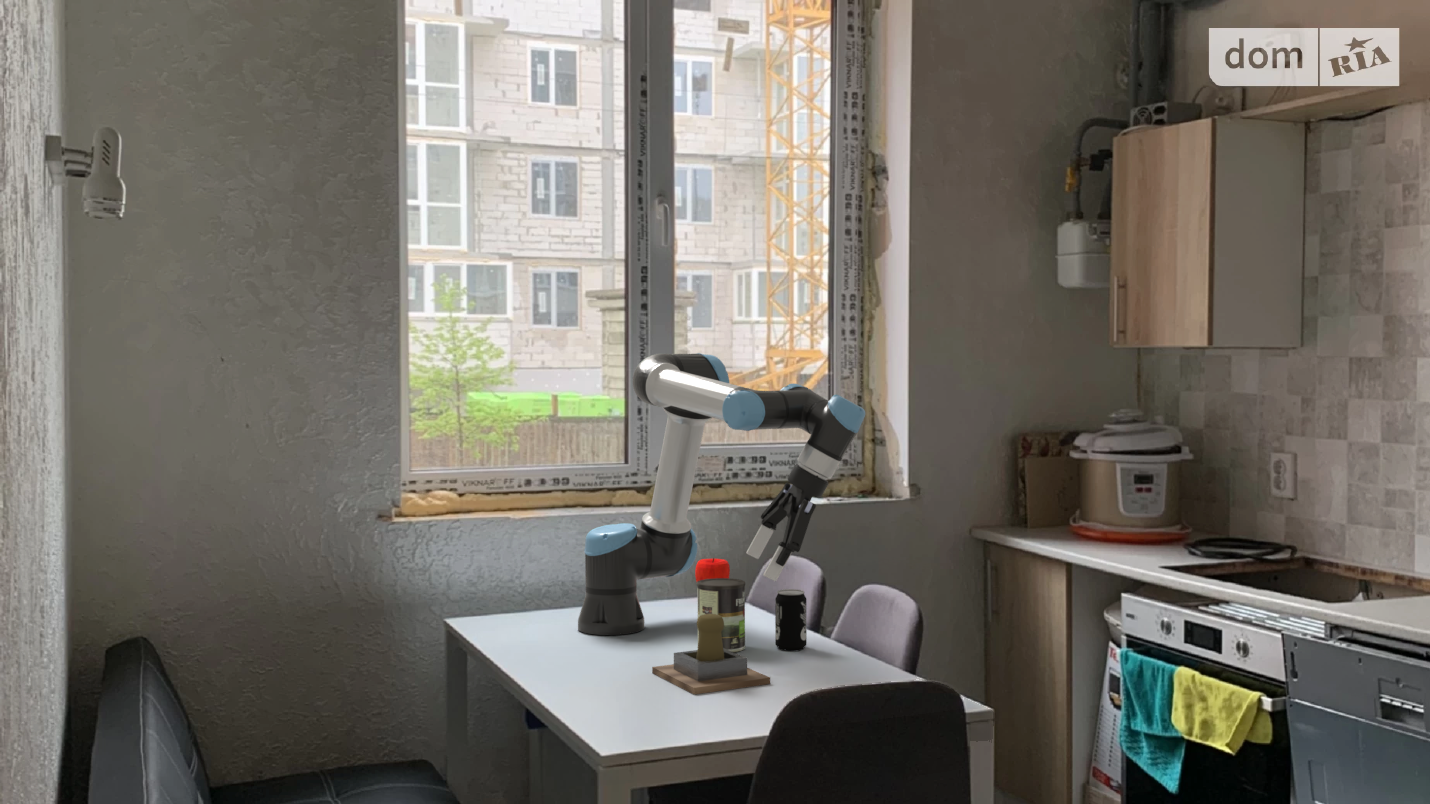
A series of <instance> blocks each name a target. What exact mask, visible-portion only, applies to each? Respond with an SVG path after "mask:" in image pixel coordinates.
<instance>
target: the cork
mask: <svg viewBox="0 0 1430 804" xmlns="http://www.w3.org/2000/svg"><path fill="white" fill-rule="evenodd" d="M696 628H697V631H698V630H699V632H700V634H699V642H698V641H697V647H698V648H697V649H696V650H697V657H696V660H699V661H701V662H704V661H712V660H720V659H725V658H724V651H723V643H722V635H721V631H722V630H723V628H724V620H723V618H722V617H721V616H720V615H716V614H704V615H701V616H699V618H698V617H697V621H696Z"/></svg>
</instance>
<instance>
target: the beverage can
mask: <svg viewBox="0 0 1430 804" xmlns="http://www.w3.org/2000/svg"><path fill="white" fill-rule="evenodd" d="M774 599H775V600H774V602H775V604H774V605H775V606H774V608H775V610H774V611H775V612H774V615H775V616H774V617H775V618H774V621H775V622H774V624H775V625H774V626H775V630H774V631H775V634H774V635H775V637H774V638H775V639H774V640H775V642H774V643H775V646H776V647H777V649H779V650H780V651H781V650H782V651H788V652H789V651H790V652H796V651H801V650H804V649H805V647H806V646H807V645H808V644H807V640H808V639H807V632H808V631H807V627H808V626H807V624H808V623H807V597H806V594H805V591H804V590H801V589H795V588H790V589H789V588H787V589H785V588H784V589H780V590H777V595H776V597H775V598H774Z"/></svg>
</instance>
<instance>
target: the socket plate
mask: <svg viewBox="0 0 1430 804" xmlns="http://www.w3.org/2000/svg"><path fill="white" fill-rule="evenodd" d="M697 650H698V649H695V650H686V651H679V652H673V664H664V665H658V666H656V665H655V666H652V668H651V672H652V674H653V675H654V676H655V675H656V676H657V677H659V678H661V679H663V680H665V681H667V682H669V683H670V684H673V685H674V686H676V687H679V688H681V689H682V690H685V691H687V692H688V693H690V694H692V695H700V694H707V693H714V692H721V691H729V690H736V689H742V688H749V687H750V688H751V687H758V686H764V685H765V686H766V685H771V677H770V676H767V675H765V674H763V673H761V672H758V671H757V670H754V669H751V668H750V667H748V657H746V656H744V655H741V654H738V652H732V651H729V650H727V649H725V648H723V651H724V658H725V659H720V660H712V661H704V662H701V661H699V660H696V657H697Z"/></svg>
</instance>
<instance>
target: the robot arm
mask: <svg viewBox="0 0 1430 804" xmlns="http://www.w3.org/2000/svg"><path fill="white" fill-rule="evenodd" d="M632 375H633V376H632V388H633V391H634V393H635V394H636V396H637V397H638V398H639V399H640V400H641V401H642V402H643V403H645V404H647V405H650V406H654V407H657V408H662V409H663V411H664V412H665V414H666V415H667V419H666V420H667V421H666V425H665V429H664V435H663V436H664V437H663V441H662V446H661V452H660V456H659V463H658V467H657V472H656V473H657V474H656V478H655V479H656V480H655V483H654V489H653V493H652V494H653V495H652V499H651V503H650V504H651V506H650V510H649V511H648V512H646V513H644V514H643V516H642V518H641V523H640V528H637V527H636V525H635V524H633V523H627V522H626V523H625V522H624V523H616V524H615V523H612V524H605V525H602V526H597V527H595V528H593V529H591V530H589V532H587V534H586V536H585V544H584V545H585V546H584V549H583V550H584V554H585V556H584V557H585V559H584V560H585V561H584V562H585V564H584V566H585V569H584V570H585V572H584V574H585V597H584V600H583V603H582V607H581V609H580V613H579V615H578V619H577V629H578V631H579V632H581V633H584V634H588V635H597V636H618V635H619V636H620V635H628V634H634V633H638V632H641V631H644V630H645V616H644V612H643V610H642V607H641V604H640V600H639V598H638V594H637V593H638V592H637V591H638V588H637V583H638V582H637V581H638V580H646V579H655V578H663V577H665V578H671V577H674V576H676V575H682V574H684V573H686V572H687V571H689V569H690V568H691V567H692V566H693V565H694V562H695V561H696V558H697V554H698V543H697V542H696V541H697V536H696V533H695V531H694V530H693V529H692V523H691V522H690V520H689V519H688V518H687V516H688V511H689V506H690V502H691V497H692V491H693V485H694V480H695V475H696V471H697V467H698V466H697V465H698V459H699V455H700V449H701V445H702V439H703V435H704V434H703V433H704V430H705V425H706V424H705V423H707V422H709V421H710V420H711V419H716V420H719V421H723V422H724V423H725V424H727V426H728V427H729V428H730V429H732V430H735V431H736V430H738V431H745V432H750V431H753V430H755V431H756V430H771V429H772V430H781V429H800V430H802V431H804V432H806V433H808V434H809V435H810V436H809V438H808V440H807V441H806V443H804V447H803V448H802V450H801V452H800V454H799V455H798V457H797V463H796V464H794V465H793V467H792V469H791V470H790V473H789V474H788V476H787V482H785V484H784V486H783V487H782V488H781V490H780V492H779V493H778V494H777V495H776V496H775V497H774V498H773V500H772V502H771V503H770V504H769V505H768V506H767V508H766V509H765V510H764V511H763V512H762V514H761V515H760V519H761V525H760V526H759V528H758V530H757V532H756V534H755V536H754V538H753V539H752V541H751V543H750V545H749V546H748V548H747V550H746V552H745V553H746V554H747V555H748V556H750V557H752V558H755V559H756V560H759V559H760V557H761V555H762V554H763V551H764V550H765V548H766V547H767V544H768V543H769V540H770V539H771V537H772V536H773V533H774V532H775V531H776V530H777V525H779V523H780V522H782V521H783V520H784V519H785V518H786V517H787V522H786V525H785V530H784V536H783V538H782V539H783V540H782V541H781V542H779V543H778V546H777V548H776V550H775V552H774V554H773V556H772V558H771V559H770V562H769V563H768V565H767V567H765V570H764V572H763V574H762V576H763V577H765V578H768V579H769V580H771V581H773V582H775V583H776V582H777V581H778V579H779V577H780V575H781V573H782V572H783V570H784V568H785V566H786V565H787V563H788V561H789V560H790V558H791V556H792V554H793V553H794V552H796V553H799V552H800V551H801V548H802V544H803V543H804V538H805V535H806V534H807V533H806V532H807V529H808V527H809V524H810V521H811V518H812V515H813V513H814V512H815V509H816V507H817V504H815V503H813V502H811V501H812V498H813V497H815V498H818V499H819V498H822V497H823V495H824V493H825V491H826V489H827V488H828V486H829V480H830V479H832V478H833V476H834V474H835V473H836V471H838V470H839V469H840V464H841V461H842V459H843V458H844V456H845V455H846V453H847V451H848V449H849V447H850V446H851V444H852V443H853V441H854V439H855V437H856V436H857V434H858V432H859V431H860V428H861V426H862V423H863V422H864V419H865V416H866V410H865V409H864V408H863V407H862V406H860V405H858V404H856V403H854V402H853V401H851V400H849V399H847V398H845V397H843V396H841V395H839V394H836V393H835V394H834V395H832V396H831V398H830V399H829V400H828V399H826V398H824V397H823V396H821V395H820V394H817V393H816V392H814V391H813V390H812V389H811V388H808V387H807V386H804V385H801V384H798V383H789V384H788V385H786V386H783V387H782V388H780V390H756V389H753V388H748V387H745V386H741V385H737V384H732V383H730V377H729V373H728V371H727V368H726V366H725V364H724V362H723V361H722V360H721V359H720V358H718V357H717V356H715V355H712V354H704V353H700V352H697V353H654V354H652V355H649V356H647V357H645V358H643V360H642V361H641V362H639V363H638V364H637V366H636V368H635V369H634V371H633V374H632ZM828 479H829V480H828Z"/></svg>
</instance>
